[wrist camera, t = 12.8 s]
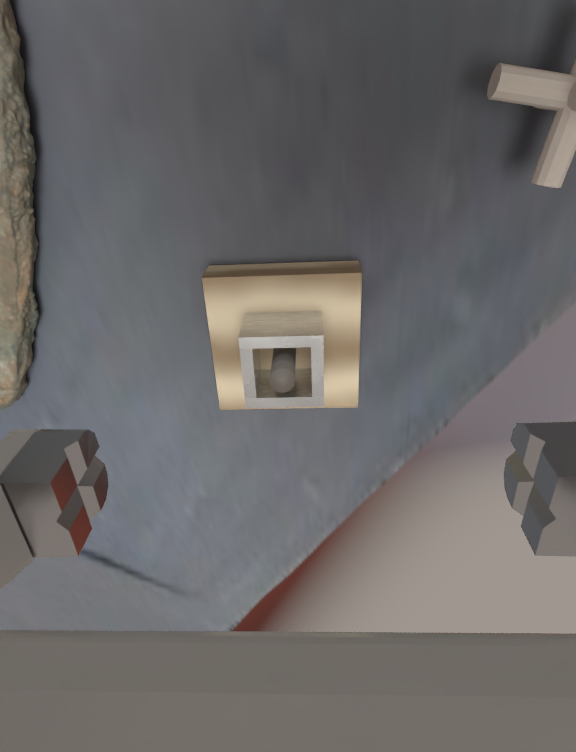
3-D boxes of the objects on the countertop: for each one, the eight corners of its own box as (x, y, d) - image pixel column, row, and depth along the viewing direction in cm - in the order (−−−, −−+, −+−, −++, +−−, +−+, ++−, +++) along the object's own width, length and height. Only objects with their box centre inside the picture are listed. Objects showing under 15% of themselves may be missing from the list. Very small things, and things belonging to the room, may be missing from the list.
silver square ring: (245, 312, 39) (238, 337, 35) (322, 310, 38) (323, 335, 35) (251, 378, 42) (245, 408, 38) (322, 377, 41) (324, 406, 38)
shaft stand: (208, 265, 40) (186, 306, 33) (358, 260, 39) (369, 300, 32) (225, 391, 46) (209, 449, 39) (355, 388, 45) (364, 447, 38)
